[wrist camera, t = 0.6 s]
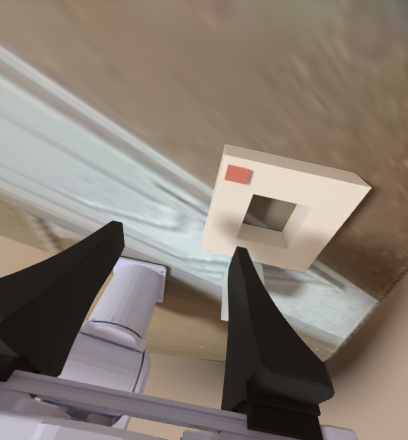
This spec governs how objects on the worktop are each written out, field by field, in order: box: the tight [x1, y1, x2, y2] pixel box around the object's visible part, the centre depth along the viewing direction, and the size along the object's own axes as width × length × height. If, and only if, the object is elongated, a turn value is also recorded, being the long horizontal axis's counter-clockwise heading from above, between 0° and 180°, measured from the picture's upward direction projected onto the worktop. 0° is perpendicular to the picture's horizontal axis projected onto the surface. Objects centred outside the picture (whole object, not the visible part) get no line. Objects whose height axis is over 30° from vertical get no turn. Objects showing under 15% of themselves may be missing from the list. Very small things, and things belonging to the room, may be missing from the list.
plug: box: [221, 257, 265, 321], centre depth 24 cm, size 4×4×8 cm
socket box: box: [201, 144, 371, 272], centre depth 20 cm, size 11×12×3 cm
